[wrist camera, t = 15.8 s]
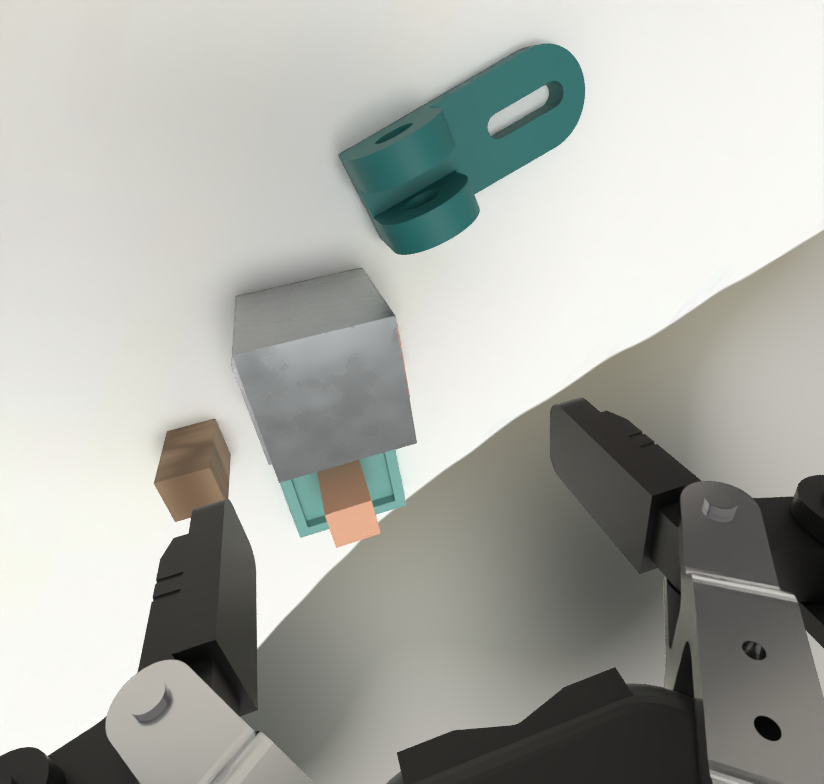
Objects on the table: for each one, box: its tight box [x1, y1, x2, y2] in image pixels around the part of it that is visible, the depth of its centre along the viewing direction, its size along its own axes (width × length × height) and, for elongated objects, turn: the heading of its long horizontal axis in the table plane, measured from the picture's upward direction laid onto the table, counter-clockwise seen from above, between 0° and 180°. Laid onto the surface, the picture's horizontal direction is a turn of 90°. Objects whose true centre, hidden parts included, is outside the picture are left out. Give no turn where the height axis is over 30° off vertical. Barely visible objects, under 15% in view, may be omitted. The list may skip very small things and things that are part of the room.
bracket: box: [339, 44, 585, 255], centre depth 34 cm, size 18×7×8 cm, turn 116°
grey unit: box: [231, 268, 417, 483], centre depth 37 cm, size 11×10×11 cm
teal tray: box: [280, 450, 406, 538], centre depth 48 cm, size 11×11×2 cm
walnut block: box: [154, 419, 231, 522], centre depth 41 cm, size 4×4×7 cm
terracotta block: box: [317, 460, 380, 548], centre depth 45 cm, size 4×4×7 cm
